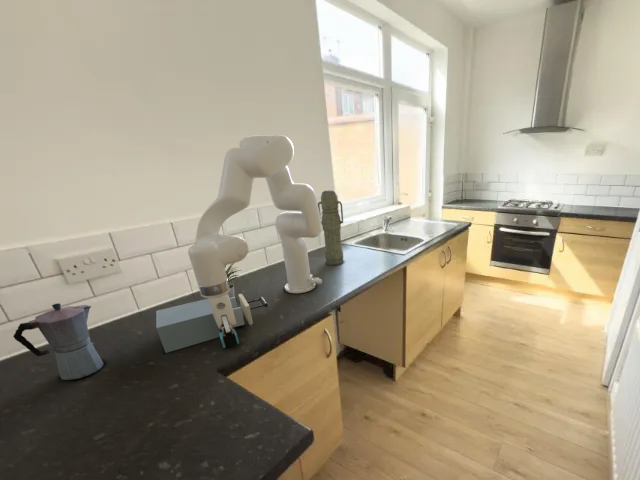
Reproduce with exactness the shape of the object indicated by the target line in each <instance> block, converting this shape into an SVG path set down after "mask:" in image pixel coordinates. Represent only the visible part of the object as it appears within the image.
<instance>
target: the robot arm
mask: <svg viewBox="0 0 640 480" xmlns="http://www.w3.org/2000/svg"><path fill="white" fill-rule="evenodd" d="M294 155H295V148H294V145H293V142H292V140H291V139H290V138H288V136H286V135H282V134H270V135H269V134H268V135H264V134H263V135H262V134H261V135H249V136H244V137H243V138H241V140H240V142H239V146H237V147H232V148H229V149H228V150H227V151H226V153H225V155H224V159H223V166H222V170H221V171H222V172H221V177H220V183H219V188H218V194H217V197H216V198H215V199H214V200H213V202H211V204H210V205H209V206H208V207H207V209H206V210H205V211H204V213H202V215H201V216H200V218H199V221H198V223H197V229H196V233H195V244H193V245H191V246H189V248H188V250H187V254H188V257H189V260H190V265H191V268H192V270H193V274H194V277H195V280H196V281H195V282H196V284H197V287H198V290H199V294H200V296H201V297H202V298H204V299H208V303H209V306H210V309H211V312H212V314H213V317H214V319H215V321H216V324H217V326H218V328H219V329H220V331H221V332H222V333H223V340H224V343H225V347H226V348H231V347H234V346H237V345H238V344H237V341H236V337H235V333H234V332H233V329H234V328H232V325H236V319H235V316H234V312H233V309H232V305H231V302H230V299H229V296H228V292H229V291H230V285H229V281H228V278H227V274H226V271H227V269H226V267H227V266H229V265H231V264H233V263H234V264H236V263H240V262H241V261H243V260H244V259H245V258H246V257H247V256H248V253H249V249H250V247H249V244H248V242H247V241H246V240H245V239H244V238H243V237H241V236H237V235H227V234H219V233H220V229H221V227H222V226H223V224H224V223H225V222H226V221H227V220H228V219H229V218H230V217H232V216H235V215H236V214H237V213H239V212H241V211H244V210H245V209H247V208H248V207H249V206H250V204H251V199H252V194H253V193H252V192H253V188H254V187H253V186H254V181H255V179H265V181H266V184H267V187H268V190H269V193H270V197H271V200H272V204H273V205H274V207H275V208H276V209H278V210H280V211H283V212H280V213H279V214H278V215H277V216H276V219H275V228H276V232H277V234H278V236H279V237H278V238H279V240H280V244H281V248H282V256H283V261H284V267H285V274H286V279H287V283H286V284H285V285H284V291H285V292H287V293H289V294H303V293H307V292H310V291H312V290H314V289H315V288H316V285H321V284H323V280H322V278H320V277H313V274H311V269H310V268H311V267H310V260H309V253H308V252H309V251H308V246H307V243H306V241H305V240H304V239H303V238H305V239H306V238H308V239H313V238H317V237H319V236H320V235H321V233H322V230H323V227H322V224H321V221H322V217H321V218H320V215H321V212H320V213H319V208H318V203H319V202H318V199H317V195H316V192H315V190H314V188H312V186H311V185H309V184H307V183H294V181H293V179H292V177H291V176H292V175H291V173H290V169H289V167H288V166H289V164H290V163H291V162H292V161H293V159H294ZM225 266H226V267H225ZM231 324H232V325H231Z"/></svg>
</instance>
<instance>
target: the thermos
mask: <svg viewBox="0 0 640 480" xmlns="http://www.w3.org/2000/svg"><path fill="white" fill-rule="evenodd" d="M336 193H337V192H336V191H334V190H323V191H322V192H321V195H320V201H318V202H317V203H318V208H319V213H320V218H321V224H322V230H323V238H324V245H325V247H324V248H325V251H324V257H325V260H326V261H325V263H326V265H327V266H339V265H341V264H343V263H344V251H343V248H342V239H341V228H342V224H344V213H343V212H344V211H343V210H344V209H343V203H342V202H341V200H338V196H337V194H336ZM338 204H339V205H340V214H339V210H338V209H339V205H338ZM320 205H321V206H320ZM321 210H322V211H321ZM321 213H322V214H321Z"/></svg>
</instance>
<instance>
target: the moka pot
mask: <svg viewBox="0 0 640 480" xmlns="http://www.w3.org/2000/svg"><path fill="white" fill-rule="evenodd" d="M51 307H52V309H50V310H48V311H45V312H43V313H41V314H39V315H37V316H35V318H34V319H33V320H29V321H28V322H22V323H20V324H19V325H18V326H17V329H16V330H15V332H14V334H13V338H14V340H15V341H17V342H18V343H20V344H21V345H22V346H24V347H25V348H26V349H27V350H29V351H30V352H31V353H32V354H33V355H35V356H36V357H41V356H46V355H48V354H50V349H44V350H43V351H41V350H39V349H38V348H36V347H35V346H34V345H33V343H32V342H30V341H29V340H28V339H27V338H26V337H25V336H23V332H25V331H29V330H30V331H31V330H35V329H38V330H39V332H40V333H41V335H42V336H43V337H44V339H45V340H46V342H47V343H48V344H49V345H50V347H51V348H52V350H53V351H54V356H55V360H56V364H57V368H58V373H59V376H60V379H61V380H62V381H63V380H64V381H71V380H78V379H82V378H85V377H87V376H90V375H92V374H94V373H96V372H98V371H99V370H101V369H102V368H103V366H104V362H103V359H102V358H101V357H100V355H99V353H98V351H97V350H96V347H94V346H95V343H94V342H93V341H92V342H91V338H90V332H89V328H88V318H89V313H90V309H91V308H92V305H88V304H80V305H68V306H63V307H62V305H61V303H58V302H57V303H54V304H52V305H51Z"/></svg>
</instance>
